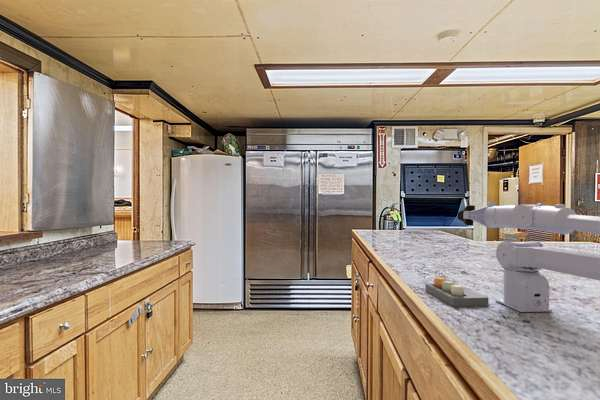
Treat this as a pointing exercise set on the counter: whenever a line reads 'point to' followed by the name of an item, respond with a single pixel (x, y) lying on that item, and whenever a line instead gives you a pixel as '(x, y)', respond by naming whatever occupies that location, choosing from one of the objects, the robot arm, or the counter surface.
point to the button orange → (438, 281)
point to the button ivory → (457, 290)
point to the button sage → (447, 286)
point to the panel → (458, 297)
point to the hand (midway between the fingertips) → (470, 216)
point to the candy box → (517, 237)
